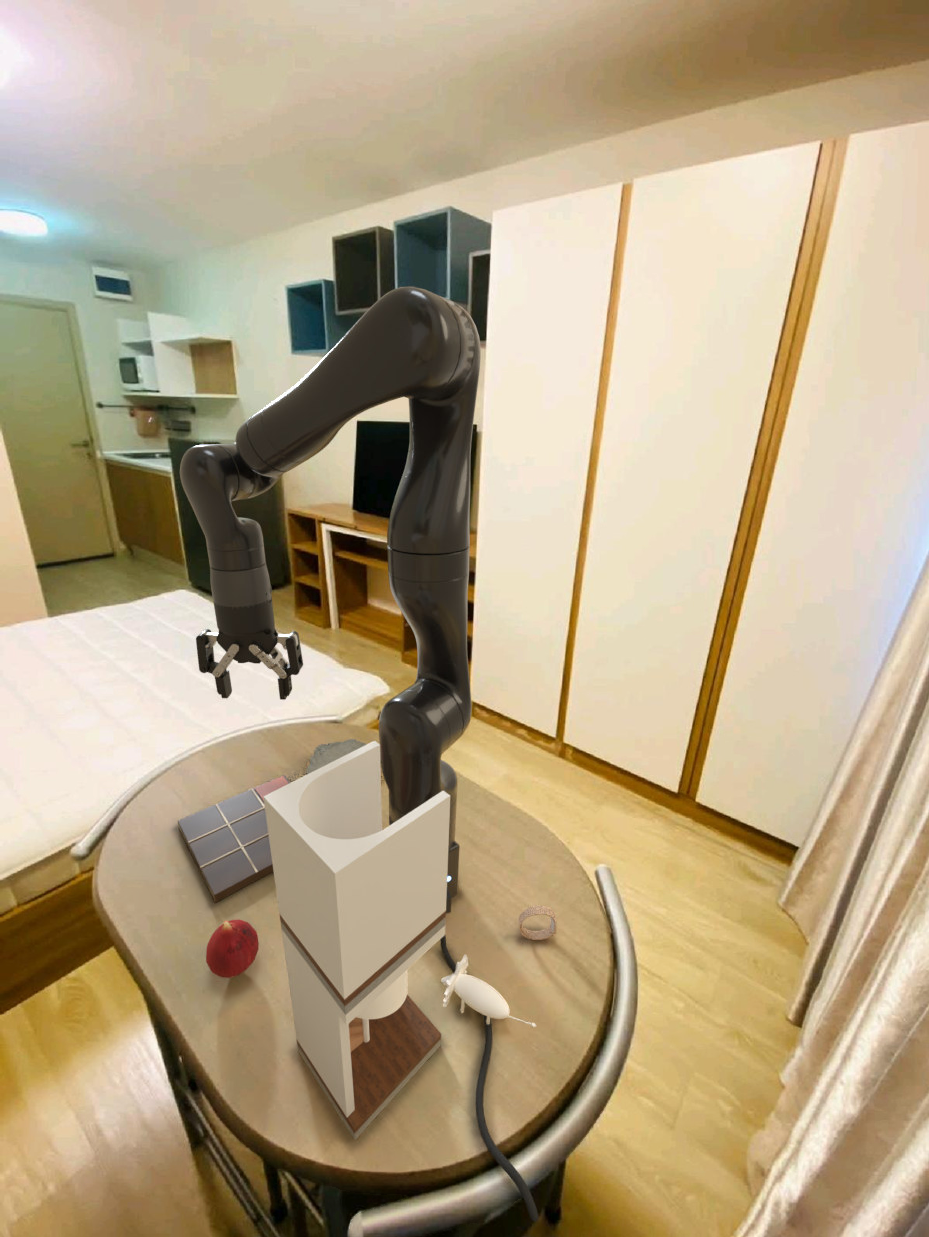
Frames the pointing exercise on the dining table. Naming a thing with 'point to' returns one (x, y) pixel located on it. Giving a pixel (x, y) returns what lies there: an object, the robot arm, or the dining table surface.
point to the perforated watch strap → (541, 934)
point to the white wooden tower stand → (357, 927)
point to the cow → (476, 994)
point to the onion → (232, 948)
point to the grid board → (232, 840)
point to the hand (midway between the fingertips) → (256, 696)
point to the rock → (332, 753)
